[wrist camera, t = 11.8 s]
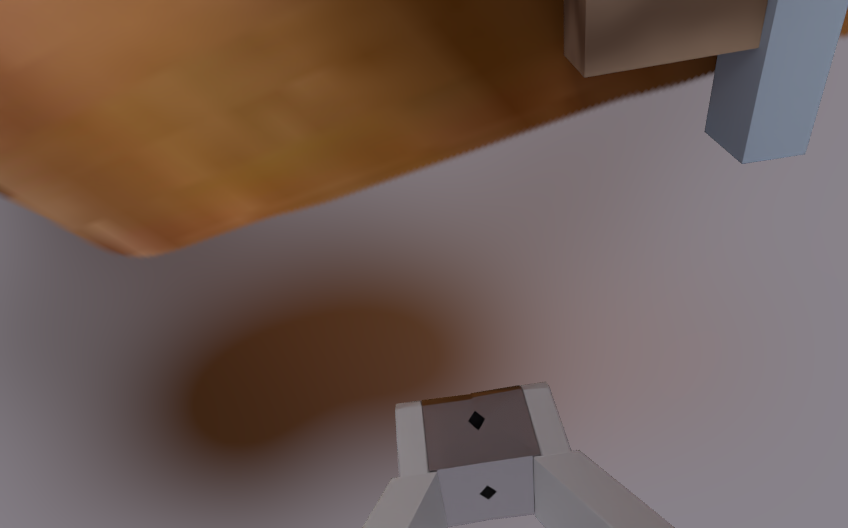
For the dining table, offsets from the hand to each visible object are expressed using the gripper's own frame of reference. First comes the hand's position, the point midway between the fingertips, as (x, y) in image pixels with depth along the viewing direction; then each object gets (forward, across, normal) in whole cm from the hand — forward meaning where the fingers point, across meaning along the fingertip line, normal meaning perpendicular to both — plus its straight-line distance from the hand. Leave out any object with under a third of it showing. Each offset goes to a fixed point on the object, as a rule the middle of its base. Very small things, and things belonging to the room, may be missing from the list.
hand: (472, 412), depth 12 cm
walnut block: (+29, -15, 0) cm, 33 cm away
